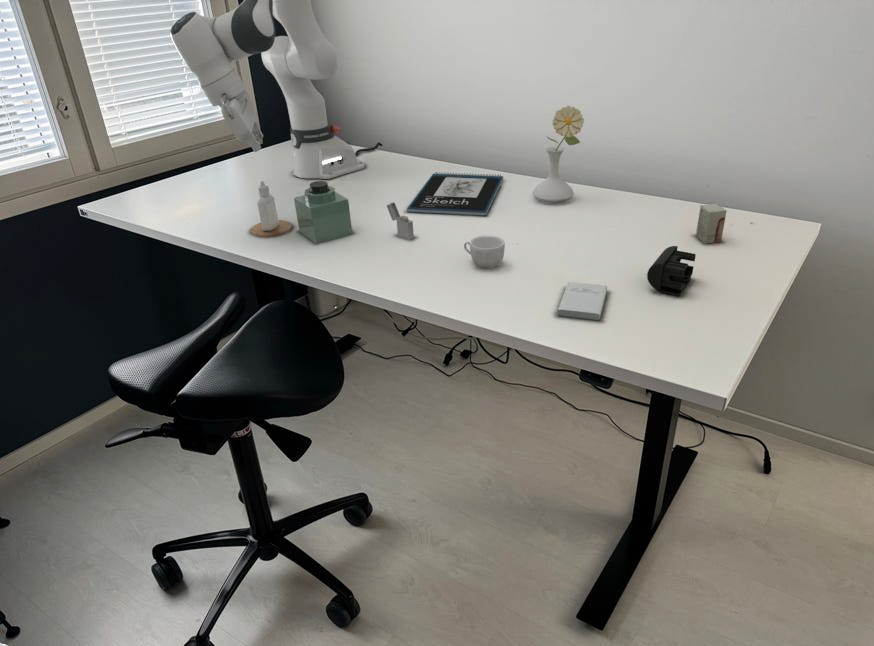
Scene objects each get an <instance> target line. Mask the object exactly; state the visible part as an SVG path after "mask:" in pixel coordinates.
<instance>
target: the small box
mask: <svg viewBox="0 0 874 646" xmlns="http://www.w3.org/2000/svg"><path fill="white" fill-rule="evenodd" d="M727 211H728V210H726V209H725V208H724V207H722V206H721V205H719V203H711V204H709V203H708V204H701V205H700V207H699V212H698V213H699V214H698V219H697V225H696V226H697V227H696V232H695V237H696V238H697V239H699V240H700V241H701V242H702V243H704V244H713V243H721V242H722V239H723V233H724V228H725V222H726V216H727Z"/></svg>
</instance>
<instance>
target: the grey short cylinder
mask: <svg viewBox="0 0 874 646" xmlns="http://www.w3.org/2000/svg"><path fill="white" fill-rule="evenodd" d="M328 186H329V182H328V181H324V180H316V181H312V182H310V183H309V188H310V191H311V193H312V194H322V193H327V192H328V191H329V189H328Z"/></svg>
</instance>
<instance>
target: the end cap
mask: <svg viewBox="0 0 874 646" xmlns="http://www.w3.org/2000/svg"><path fill="white" fill-rule="evenodd" d="M678 249H679V248H678V245H671V246H668V247H667V248H665V249H663V251H662V252H661V253H660V255H659V256H657V258H656V260H655V261H654V262H653V263H652V264H651V266H649V268H648V270H647V274H646V277H647V278H646V279H647V282H648V283H649V285H650V286H651V287H652V288H653V289H655V291H657V292H658V293H661V294H666V295H670V296H673V297H681V295H682V294H683V292H684V291H685V290H686V288H687V286H688V285H689V284H690V282H691V280H692V275H693V273H694V267H695V266H693V265H689V263H687V262H682V260H684V261H688V262H695V261H696V255H697V254H696V253H693V252H687V251H682V250H678Z"/></svg>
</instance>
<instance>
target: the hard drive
mask: <svg viewBox="0 0 874 646" xmlns="http://www.w3.org/2000/svg"><path fill="white" fill-rule="evenodd" d="M607 292H608V286H607V285H603V284H592V283H585V282H584V283H583V282H575V281H569V282H567V284H566V287H565V288H564V292H563V295H562V297H561V299H560V303H559V306H558V308H557V316H559V317H563V318H572V319H579V320H580V319H582V320H589V321H590V320H591V321H600V319H601V316H602V313H603V312H602V311H603V308H604V304H605V299H606V296H607Z"/></svg>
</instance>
